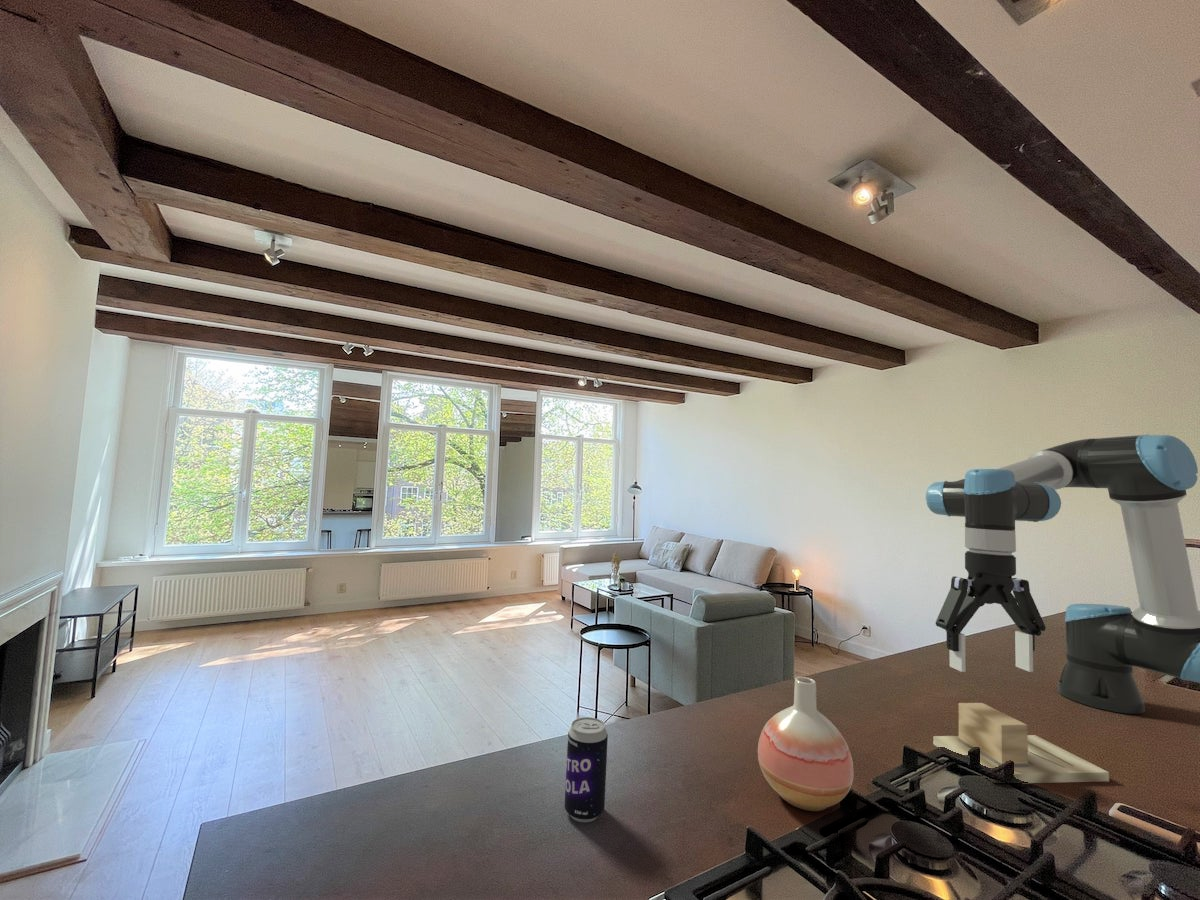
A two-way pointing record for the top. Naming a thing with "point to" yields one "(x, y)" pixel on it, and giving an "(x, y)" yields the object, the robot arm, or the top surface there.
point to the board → (1039, 762)
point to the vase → (805, 753)
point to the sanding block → (993, 734)
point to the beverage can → (586, 769)
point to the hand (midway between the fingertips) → (991, 669)
